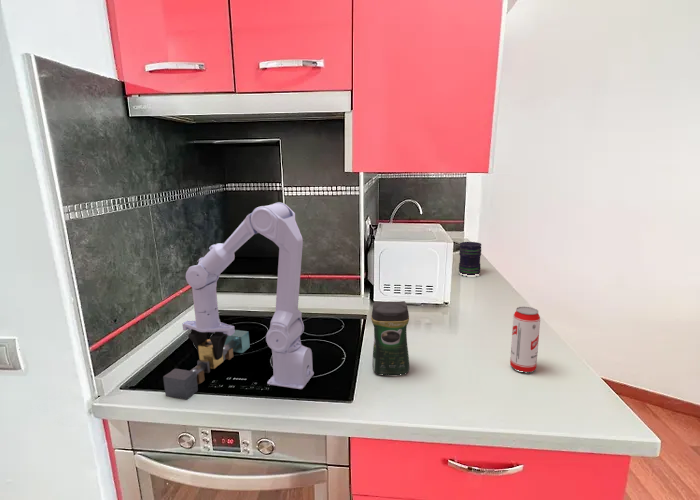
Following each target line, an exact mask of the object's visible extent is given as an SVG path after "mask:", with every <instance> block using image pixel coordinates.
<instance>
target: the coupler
mask: <svg viewBox="0 0 700 500" xmlns="http://www.w3.org/2000/svg"><path fill="white" fill-rule="evenodd" d="M198 349H199V353H198V358H199V359H198V360H206V361H209V366H210V370H215V369H216V368H217V367H218V366H220V365H221V364H222V363H224V361H223V355H222V357H221V358H220V359H219V360H216V359H215V355H214V348H213V345H212V342H211V340H210V338H209V339H208V338H207V340H206V341H205V342H203V343H202V344H200V345H199V346H198Z"/></svg>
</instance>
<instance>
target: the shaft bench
mask: <svg viewBox="0 0 700 500" xmlns="http://www.w3.org/2000/svg"><path fill="white" fill-rule="evenodd" d="M249 348H251V346H250V333H249V331H247V330H240V329H235V333H234V334H232V335H231V336H228V337H227V339H226V342H225V345H224V349H223V362H224V361H225V360H228V361H230V360H232V358H234V353H238V354H244V353H245V352H246V351H247V350H248V349H249ZM196 364H197V365H196V366H195V367H193V368H191V369H190V370H187V369H180V368H174V369H172V370H171V371H170V372H168V373H166V374H164V375H163V376H162V380H163V387H164V394H165V397H170V398H176V399H180V400H186V401H187V400H188V399H190V398H191V397H192V396H193V395H194V394H196V393H197V392H198V391H199V388H198V385H200V384H202V383H203V382H204V381H205V380H206V379H205V374H209V373H210V372H211V368H210V366H209V361H206V360H200V359H198V360H197V361H196Z"/></svg>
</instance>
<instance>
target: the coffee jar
mask: <svg viewBox="0 0 700 500" xmlns="http://www.w3.org/2000/svg"><path fill="white" fill-rule="evenodd" d="M408 308H409V307H408V304H407V302H406V301H404V300H403V301H401V300H400V301H374V302H373V306H372V309H371V310H372V311H371V315H370V316H371V318H370V319H371V322H372V325H373V348H372V362H371V363H372V370H373V372H374V373H375V374H377V375H378V374H383V375H382V376H385V375H397V376H401V375H400V374H404V375H406V374H408V373H409V372H410V355H409V349H408V337H407V326H408V324H409V321H410V313H409V309H408ZM405 373H406V374H405Z"/></svg>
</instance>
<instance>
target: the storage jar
mask: <svg viewBox="0 0 700 500" xmlns="http://www.w3.org/2000/svg"><path fill="white" fill-rule="evenodd" d="M481 255H482V243H481V242H477V241H476V242H475V241H463V242H460V243H459V263H458V273H459V272H460V273H462V274H467V275H475V274H479V273H480V274H481Z"/></svg>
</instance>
